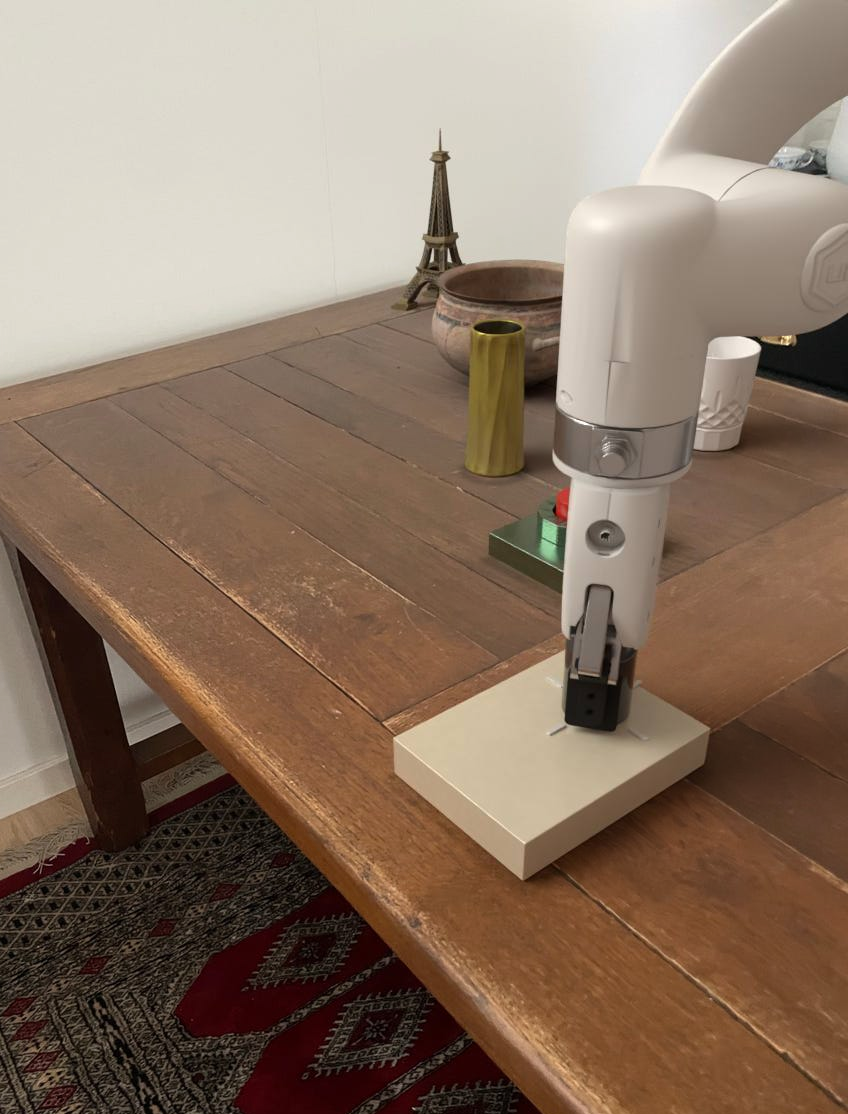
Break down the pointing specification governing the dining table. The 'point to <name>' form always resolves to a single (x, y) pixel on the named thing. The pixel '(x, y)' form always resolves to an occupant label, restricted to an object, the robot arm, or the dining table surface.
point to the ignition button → (563, 504)
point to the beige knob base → (543, 765)
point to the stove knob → (625, 670)
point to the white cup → (726, 392)
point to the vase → (496, 398)
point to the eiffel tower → (434, 239)
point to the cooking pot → (502, 310)
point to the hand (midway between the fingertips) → (596, 698)
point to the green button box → (534, 545)
